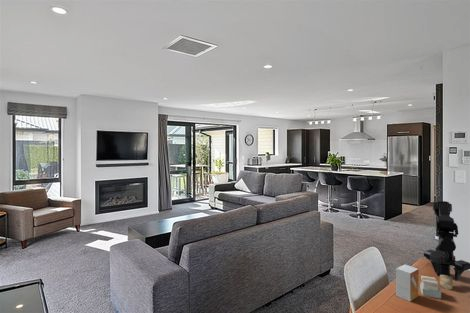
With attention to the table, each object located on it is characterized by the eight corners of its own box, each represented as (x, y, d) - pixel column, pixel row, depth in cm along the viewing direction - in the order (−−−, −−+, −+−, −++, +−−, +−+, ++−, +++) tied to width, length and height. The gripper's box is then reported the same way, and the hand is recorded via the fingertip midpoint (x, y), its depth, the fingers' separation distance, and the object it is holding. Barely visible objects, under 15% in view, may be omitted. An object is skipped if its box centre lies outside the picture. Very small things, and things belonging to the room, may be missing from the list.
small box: (410, 302, 121) (410, 273, 121) (395, 295, 127) (395, 268, 126) (419, 296, 126) (418, 268, 125) (404, 290, 131) (404, 263, 131)
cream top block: (421, 282, 132) (421, 275, 132) (435, 284, 129) (435, 277, 129) (423, 288, 127) (423, 280, 127) (437, 290, 125) (437, 283, 124)
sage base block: (420, 289, 133) (420, 281, 133) (437, 292, 130) (437, 284, 130) (422, 296, 127) (422, 288, 126) (441, 299, 123) (441, 291, 123)
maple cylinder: (438, 283, 137) (438, 274, 137) (451, 285, 135) (451, 275, 134) (441, 288, 132) (440, 278, 132) (453, 290, 130) (453, 280, 130)
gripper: (415, 241, 139) (415, 271, 140) (455, 254, 121) (455, 289, 122) (431, 238, 143) (431, 267, 143) (472, 251, 125) (472, 284, 126)
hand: (446, 276), depth 133 cm, fingers open, 9 cm apart
